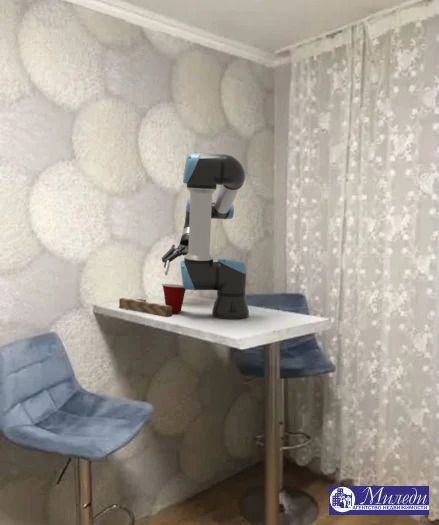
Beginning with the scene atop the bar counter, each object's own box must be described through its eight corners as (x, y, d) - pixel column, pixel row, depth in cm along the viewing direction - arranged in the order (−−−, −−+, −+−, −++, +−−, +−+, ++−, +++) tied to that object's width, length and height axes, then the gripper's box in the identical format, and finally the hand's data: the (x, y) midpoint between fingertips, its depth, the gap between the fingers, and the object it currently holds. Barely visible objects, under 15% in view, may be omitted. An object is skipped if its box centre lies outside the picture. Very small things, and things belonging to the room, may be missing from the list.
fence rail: (185, 313, 197) (185, 303, 197) (166, 317, 188) (166, 306, 188) (138, 305, 215) (138, 295, 215) (119, 307, 207) (119, 298, 206)
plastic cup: (192, 312, 199) (193, 284, 198) (172, 315, 191) (173, 286, 190) (175, 309, 207) (176, 282, 206) (155, 312, 199) (156, 283, 198)
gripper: (216, 245, 223) (209, 280, 209) (164, 243, 227) (154, 278, 213) (214, 234, 217) (207, 269, 204) (161, 232, 221) (151, 267, 207)
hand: (180, 274), depth 208 cm, fingers open, 13 cm apart
